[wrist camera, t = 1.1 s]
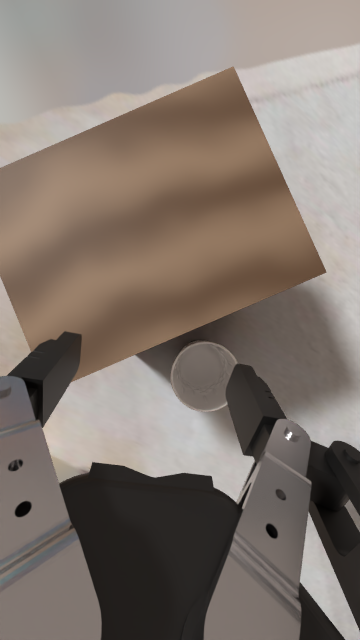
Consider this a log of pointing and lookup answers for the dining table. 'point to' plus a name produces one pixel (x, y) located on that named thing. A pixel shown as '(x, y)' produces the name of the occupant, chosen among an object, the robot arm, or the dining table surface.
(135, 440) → the dining table surface
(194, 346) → the white cup
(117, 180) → the wooden step stool
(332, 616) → the dining table surface
